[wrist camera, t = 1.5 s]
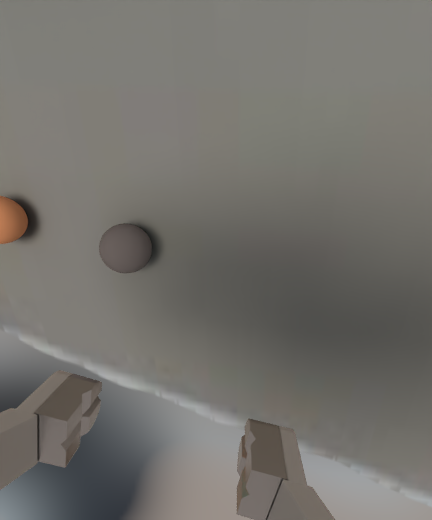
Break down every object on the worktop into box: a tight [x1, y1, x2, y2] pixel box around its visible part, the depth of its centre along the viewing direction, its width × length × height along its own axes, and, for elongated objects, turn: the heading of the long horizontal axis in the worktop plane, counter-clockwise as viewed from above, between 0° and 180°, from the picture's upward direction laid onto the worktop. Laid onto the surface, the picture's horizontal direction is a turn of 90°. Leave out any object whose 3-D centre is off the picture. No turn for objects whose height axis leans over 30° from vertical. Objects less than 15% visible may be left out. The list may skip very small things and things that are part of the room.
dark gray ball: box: [99, 224, 152, 273], centre depth 25 cm, size 5×5×5 cm
